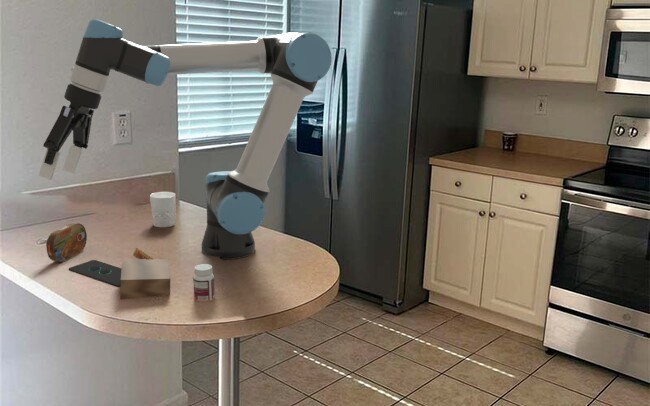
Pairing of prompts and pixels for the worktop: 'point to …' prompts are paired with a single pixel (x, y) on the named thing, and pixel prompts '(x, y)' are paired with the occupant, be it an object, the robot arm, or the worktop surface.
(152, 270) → the wooden block
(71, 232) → the tin
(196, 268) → the pill bottle
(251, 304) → the worktop surface
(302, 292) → the worktop surface
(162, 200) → the white cup
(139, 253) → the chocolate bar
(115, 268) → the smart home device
